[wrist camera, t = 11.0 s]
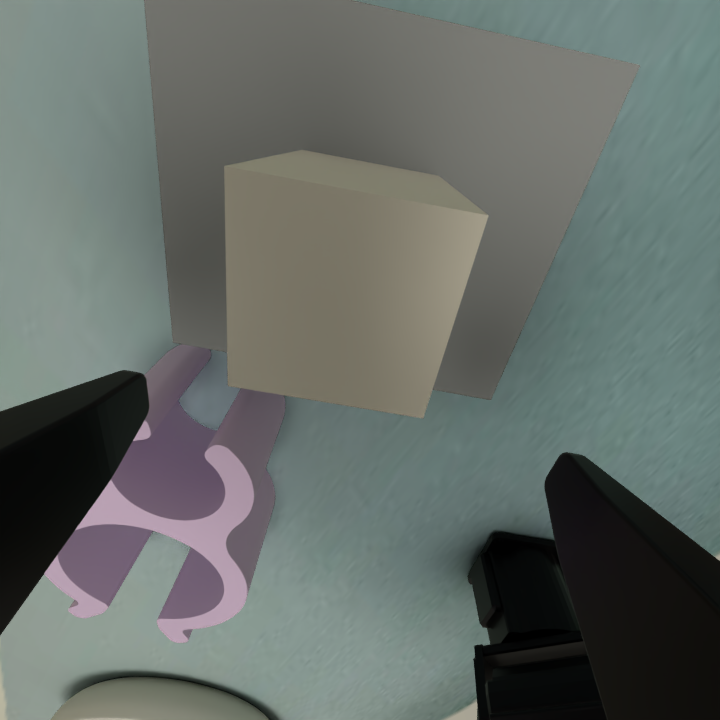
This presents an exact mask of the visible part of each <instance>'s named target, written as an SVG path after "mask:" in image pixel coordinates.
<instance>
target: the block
mask: <svg viewBox="0 0 720 720" xmlns="http://www.w3.org/2000/svg"><path fill="white" fill-rule="evenodd" d="M224 186H225V246H226V305H227V365H228V386H231V387H237V388H243V389H249V390H255V391H261V392H267V393H273V394H279V395H285V396H291V397H297V398H303V399H309V400H315V401H321V402H327V403H333V404H339V405H345V406H351V407H357V408H363V409H369V410H375V411H381V412H387V413H394V414H400V415H406V416H412V417H418V418H423V417H424V414H425V411H426V408H427V405H428V402H429V399H430V396H431V393H432V390H433V386H434V383H435V380H436V377H437V374H438V371H439V368H440V365H441V362H442V359H443V355H444V352H445V349H446V346H447V343H448V340H449V337H450V334H451V331H452V328H453V325H454V321H455V318H456V315H457V312H458V309H459V306H460V303H461V300H462V297H463V294H464V290H465V287H466V284H467V281H468V278H469V275H470V272H471V269H472V266H473V263H474V259H475V256H476V253H477V250H478V247H479V244H480V241H481V238H482V235H483V232H484V229H485V225H486V222H487V219H488V216H489V215H487V214H486V213H485V212H484V211H482V210H481V209H480V208H479V207H477V206H476V205H475V204H474V203H472V202H471V201H470V200H469V199H467V198H466V197H465V196H464V195H462V194H461V193H460V192H459V191H457V190H456V189H455V188H454V187H452V186H451V185H450V184H449V183H447V182H446V181H445V180H443V179H442V178H441V177H440V176H438V175H432V174H427V173H422V172H417V171H411V170H406V169H401V168H396V167H390V166H385V165H380V164H375V163H369V162H364V161H359V160H353V159H348V158H343V157H338V156H332V155H327V154H322V153H317V152H311V151H306V150H299V151H294V152H289V153H284V154H280V155H275V156H270V157H265V158H260V159H256V160H251V161H246V162H241V163H236V164H231V165H227V166H224Z"/></svg>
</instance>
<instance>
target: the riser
mask: <svg viewBox="0 0 720 720" xmlns="http://www.w3.org/2000/svg"><path fill="white" fill-rule="evenodd" d="M144 3H145V15H146V27H147V39H148V51H149V63H150V75H151V87H152V99H153V111H154V123H155V134H156V146H157V158H158V170H159V182H160V194H161V206H162V218H163V230H164V242H165V254H166V266H167V278H168V290H169V302H170V314H171V325H172V337H173V343H179V344H184V345H190V346H195V347H201V348H206V349H212V350H217V351H223V352H227V305H226V246H225V186H224V166H227V165H231V164H236V163H241V162H246V161H251V160H256V159H260V158H265V157H270V156H275V155H280V154H284V153H289V152H294V151H299V150H306V151H311V152H317V153H322V154H327V155H332V156H338V157H343V158H348V159H353V160H359V161H364V162H369V163H375V164H380V165H385V166H390V167H396V168H401V169H406V170H411V171H417V172H422V173H427V174H432V175H438V176H440V177H441V178H442V179H443V180H445V181H446V182H447V183H449V184H450V185H451V186H452V187H454V188H455V189H456V190H457V191H459V192H460V193H461V194H462V195H464V196H465V197H466V198H467V199H469V200H470V201H471V202H472V203H474V204H475V205H476V206H477V207H479V208H480V209H481V210H482V211H484V212H485V213H486V214H487V215H489V216H488V219H487V222H486V225H485V229H484V232H483V235H482V238H481V241H480V244H479V247H478V250H477V253H476V256H475V259H474V263H473V266H472V269H471V272H470V275H469V278H468V281H467V284H466V287H465V290H464V294H463V297H462V300H461V303H460V306H459V309H458V312H457V315H456V318H455V321H454V325H453V328H452V331H451V334H450V337H449V340H448V343H447V346H446V349H445V352H444V355H443V359H442V362H441V365H440V368H439V371H438V374H437V377H436V380H435V383H434V386H433V390H437V391H443V392H448V393H454V394H460V395H465V396H471V397H476V398H482V399H487V400H491V399H492V396H493V394H494V392H495V390H496V387H497V385H498V383H499V381H500V378H501V376H502V374H503V372H504V369H505V367H506V365H507V363H508V360H509V358H510V356H511V354H512V352H513V349H514V347H515V345H516V343H517V340H518V338H519V336H520V334H521V331H522V329H523V327H524V325H525V322H526V320H527V318H528V316H529V313H530V311H531V309H532V307H533V304H534V302H535V300H536V298H537V296H538V293H539V291H540V289H541V287H542V284H543V282H544V280H545V278H546V275H547V273H548V271H549V269H550V266H551V264H552V262H553V260H554V257H555V255H556V253H557V251H558V248H559V246H560V244H561V242H562V240H563V237H564V235H565V233H566V231H567V228H568V226H569V224H570V222H571V219H572V217H573V215H574V213H575V210H576V208H577V206H578V204H579V201H580V199H581V197H582V195H583V192H584V190H585V188H586V186H587V184H588V181H589V179H590V177H591V175H592V172H593V170H594V168H595V166H596V163H597V161H598V159H599V157H600V154H601V152H602V150H603V148H604V145H605V143H606V141H607V139H608V136H609V134H610V132H611V130H612V128H613V125H614V123H615V121H616V119H617V116H618V114H619V112H620V110H621V107H622V105H623V103H624V101H625V98H626V96H627V94H628V92H629V89H630V87H631V85H632V83H633V80H634V78H635V76H636V74H637V72H638V69H639V67H640V65H637V64H633V63H628V62H624V61H619V60H615V59H610V58H606V57H602V56H597V55H593V54H588V53H584V52H579V51H575V50H570V49H566V48H562V47H557V46H553V45H548V44H544V43H539V42H535V41H530V40H526V39H522V38H517V37H513V36H508V35H504V34H499V33H495V32H491V31H486V30H482V29H477V28H473V27H468V26H464V25H459V24H455V23H451V22H446V21H442V20H437V19H433V18H428V17H424V16H420V15H415V14H411V13H406V12H402V11H397V10H393V9H388V8H384V7H380V6H375V5H371V4H366V3H362V2H357V1H353V0H144Z"/></svg>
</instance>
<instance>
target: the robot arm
mask: <svg viewBox="0 0 720 720" xmlns="http://www.w3.org/2000/svg"><path fill="white" fill-rule="evenodd" d="M148 412H149V396H148V388H147V380H146V377H145V376H144V375H143V374H142V373H138V372H133V371H127V370H122V371H118V372H115V373H112V374H109V375H106V376H104V377H101V378H98V379H95V380H92V381H89V382H86V383H83V384H80V385H77V386H74V387H71V388H68V389H65V390H62V391H59V392H56V393H53V394H51V395H48V396H45V397H42V398H39V399H36V400H33V401H30V402H27V403H24V404H21V405H18V406H15V407H12V408H9V409H6V410H3V411H0V635H1V634H2V632H3V631H4V629H5V628H6V627H7V625H8V624H9V622H10V621H11V620H12V618H13V617H14V615H15V614H16V613H17V611H18V610H19V608H20V607H21V606H22V604H23V603H24V601H25V600H26V599H27V597H28V596H29V594H30V593H31V592H32V590H33V589H34V587H35V586H36V584H37V583H38V582H39V580H40V579H41V577H42V576H43V575H44V573H45V572H46V570H47V569H48V568H49V566H50V565H51V563H52V562H53V561H54V559H55V558H56V556H57V555H58V554H59V552H60V551H61V549H62V548H63V547H64V545H65V544H66V542H67V541H68V540H69V538H70V537H71V535H72V534H73V532H74V531H75V530H76V528H77V527H78V525H79V524H80V523H81V521H82V520H83V518H84V517H85V516H86V514H87V513H88V511H89V510H90V509H91V507H92V506H93V504H94V503H95V502H96V500H97V499H98V497H99V496H100V495H101V493H102V492H103V490H104V489H105V487H106V486H107V484H108V483H109V482H110V480H111V479H112V477H113V475H114V474H115V472H116V470H117V469H118V467H119V465H120V463H121V462H122V460H123V458H124V456H125V454H126V453H127V451H128V449H129V447H130V445H131V444H132V442H133V440H134V438H135V437H136V435H137V433H138V431H139V429H140V428H141V426H142V424H143V422H144V420H145V419H146V417H147V415H148ZM545 493H546V498H547V503H548V508H549V513H550V519H551V524H552V529H553V534H554V539H555V542H552V541H546V540H540V539H534V538H528V537H522V536H516V535H510V534H504V533H494V534H492V535H491V537H490V538H489V540H488V542H487V544H486V545H485V547H484V549H483V551H482V552H481V554H480V555H479V557H478V558H477V560H476V562H475V563H474V565H473V567H472V569H471V570H470V573H469V575H468V582H469V583H470V584H472V585H473V591H474V596H475V601H476V606H477V611H478V616H479V621H480V624H481V625H482V627H484V628H487V630H488V635H489V640H490V645H485V646H483V645H482V644H481V645H475V646H474V648H475V658H474V659H473V660H474V668H475V680H476V692H477V704H478V709H477V720H720V561H719V560H717V559H716V558H715V557H714V556H712V555H711V554H710V553H709V552H707V551H706V550H705V549H703V548H702V547H701V546H700V545H698V544H697V543H696V542H694V541H693V540H692V539H691V538H689V537H688V536H687V535H685V534H684V533H683V532H682V531H680V530H679V529H678V528H676V527H675V526H674V525H673V524H671V523H670V522H669V521H667V520H666V519H665V518H664V517H662V516H661V515H660V514H658V513H657V512H656V511H655V510H653V509H652V508H651V507H649V506H648V505H647V504H646V503H644V502H643V501H642V500H640V499H639V498H638V497H637V496H635V495H634V494H633V493H631V492H630V491H629V490H628V489H626V488H625V487H624V486H622V485H621V484H620V483H619V482H617V481H616V480H615V479H613V478H612V477H611V476H610V475H608V474H607V473H606V472H604V471H603V470H602V469H601V468H599V467H598V466H597V465H595V464H594V463H593V462H592V461H590V460H589V459H588V458H586V457H585V456H583V455H579V454H574V453H568V452H565V453H562V454H561V455H560V456H559V457H558V459H557V461H556V462H555V464H554V466H553V467H552V469H551V470H550V472H549V474H548V475H547V477H546V480H545Z"/></svg>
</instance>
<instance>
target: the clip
mask: <svg viewBox="0 0 720 720" xmlns="http://www.w3.org/2000/svg"><path fill="white" fill-rule="evenodd" d="M210 358H211V351H210V349H206V348H201V347H195V346H190V345H184V344H181V345H179V346H176V347H175V348H173V349H171V350H170V351H168V352H167V353H166V354H165V355H164V356H163V357H162V358H161V359H160V360H159V361H158V362H157V363H156V364H155V365H154V366H153V367H152V368H151V369H150V370H149V371H148V372H147V373H146V374H145V375H144V376H145V377H146V380H147V388H148V396H149V412H148V415H147V417H146V419H145V420H144V422H143V424H142V426H141V428H140V429H139V431H138V433H137V435H136V437H135V438H134V440H133V442H132V444H131V445H130V447H129V449H128V451H127V453H126V454H125V456H124V458H123V460H122V462H121V463H120V465H119V467H118V469H117V470H116V472H115V474H114V475H113V477H112V479H111V480H110V482H109V483H108V484H107V486H106V487H105V489H104V490H103V492H102V493H101V495H100V496H99V497H98V499H97V500H96V502H95V503H94V504H93V506H92V507H91V509H90V510H89V511H88V513H87V514H86V516H85V517H84V518H83V520H82V521H81V523H80V524H79V525H78V527H77V528H76V530H75V531H74V532H73V534H72V535H71V537H70V538H69V540H68V541H67V542H66V544H65V545H64V547H63V548H62V549H61V551H60V552H59V554H58V555H57V556H56V558H55V559H54V561H53V562H52V563H51V565H50V566H49V568H48V569H47V570H46V572H45V573H44V574H45V575H46V576H47V578H48V579H49V580H50V581H51V582H52V583H53V584H55V585H56V586H57V587H58V588H59V589H60V590H62V591H63V592H64V593H66V594H67V595H69V596H70V597H72V598H73V599H75V600H74V601H73V603H72V604H71V606H70V607H69V609H68V611H69V612H70V613H71V614H73V615H75V616H77V617H80V618H88V617H92V616H95V615H99V614H102V613H103V612H104V611H106V610H107V609H108V607H109V605H110V604H111V602H112V600H113V599H114V597H115V595H116V593H117V592H118V590H119V588H120V587H121V585H122V583H123V581H124V580H125V578H126V576H127V575H128V573H129V571H130V569H131V568H132V566H133V564H134V562H135V561H136V559H137V557H138V556H139V554H140V552H141V550H142V549H143V547H144V545H145V544H146V542H147V540H148V538H149V537H150V535H151V533H152V532H153V531H155V532H159V533H161V534H164V535H167V536H169V537H172V538H174V539H176V540H179V541H181V542H182V543H184V544H186V545H188V546H190V547H191V549H190V551H189V553H188V555H187V557H186V560H185V562H184V564H183V566H182V568H181V570H180V572H179V575H178V577H177V579H176V581H175V583H174V585H173V587H172V590H171V592H170V594H169V596H168V598H167V600H166V602H165V605H164V607H163V609H162V611H161V613H160V615H159V617H158V620H157V624H158V627H159V629H160V630H161V631H162V632H163V633H164V634H165V635H166V636H167V637H168V638H169V639H170V640H171V641H173V642H176V643H185V642H188V640H189V637H190V635H191V632H192V629H199V628H205V627H210V626H214V625H217V624H220V623H222V622H224V621H227V620H228V619H230V618H232V617H233V616H235V615H236V614H237V613H238V612H239V611H240V610H241V609H242V607H243V606H244V604H245V601H246V598H247V595H248V592H249V588H250V585H251V581H252V578H253V575H254V571H255V568H256V565H257V561H258V558H259V554H260V551H261V548H262V544H263V541H264V538H265V534H266V531H267V528H268V524H269V521H270V517H271V514H272V511H273V507H274V503H275V489H274V485H273V482H272V479H271V477H270V475H269V473H268V472H267V470H266V466H267V463H268V460H269V458H270V455H271V452H272V449H273V446H274V444H275V441H276V438H277V435H278V432H279V429H280V427H281V424H282V421H283V418H284V414H285V398H284V395H279V394H273V393H267V392H261V391H255V390H249V389H243V388H241V389H240V391H239V393H238V395H237V397H236V398H235V400H234V402H233V404H232V405H231V407H230V409H229V411H228V413H227V414H226V416H225V418H224V420H223V421H222V423H221V425H220V427H219V429H218V430H217V431H215V430H212V429H209V428H207V427H204V426H202V425H201V424H199V423H197V422H196V421H194V420H193V419H192V418H191V417H190V416H188V415H187V413H186V412H185V411H184V410H183V408H182V407H181V405H180V403H179V401H178V399H179V398H180V397H181V396H182V394H183V393H184V392H185V390H186V389H187V388H188V387H189V385H190V384H191V383H192V381H193V380H194V379H195V377H196V376H197V375H198V374H199V372H200V371H201V370H202V368H203V367H204V366H205V365H206V363H207V362H208V361H209V359H210Z"/></svg>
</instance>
